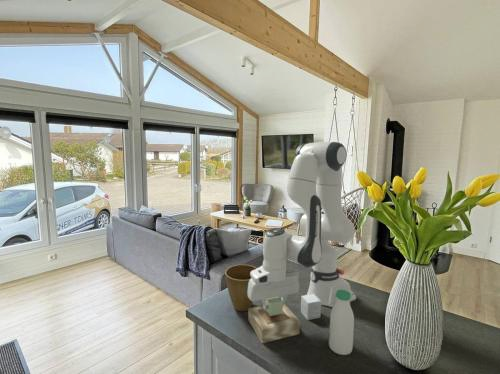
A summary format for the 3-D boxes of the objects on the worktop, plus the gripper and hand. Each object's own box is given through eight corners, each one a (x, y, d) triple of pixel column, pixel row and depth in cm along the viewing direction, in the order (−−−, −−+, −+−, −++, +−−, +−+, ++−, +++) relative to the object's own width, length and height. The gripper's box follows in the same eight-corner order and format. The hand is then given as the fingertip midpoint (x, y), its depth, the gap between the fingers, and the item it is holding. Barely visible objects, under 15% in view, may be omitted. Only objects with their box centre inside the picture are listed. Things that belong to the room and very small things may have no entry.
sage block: (276, 306, 106) (276, 294, 106) (282, 313, 102) (282, 300, 101) (264, 308, 105) (265, 296, 104) (270, 316, 100) (270, 303, 99)
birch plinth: (282, 313, 113) (282, 301, 112) (299, 333, 100) (300, 320, 99) (248, 320, 108) (248, 307, 107) (262, 343, 95) (262, 329, 94)
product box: (313, 309, 116) (314, 293, 115) (320, 318, 110) (321, 301, 109) (300, 311, 114) (300, 295, 113) (307, 320, 108) (307, 303, 108)
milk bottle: (357, 353, 91) (361, 296, 88) (337, 358, 88) (340, 300, 86) (343, 338, 98) (346, 285, 96) (324, 342, 96) (326, 288, 93)
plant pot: (218, 306, 118) (218, 270, 116) (244, 294, 128) (244, 261, 126) (240, 321, 107) (240, 283, 105) (266, 307, 117) (267, 272, 115)
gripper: (294, 265, 108) (293, 298, 110) (246, 272, 101) (245, 307, 102) (302, 271, 102) (301, 306, 104) (252, 280, 95) (251, 316, 97)
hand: (273, 306), depth 103 cm, fingers closed on sage block, 5 cm apart
